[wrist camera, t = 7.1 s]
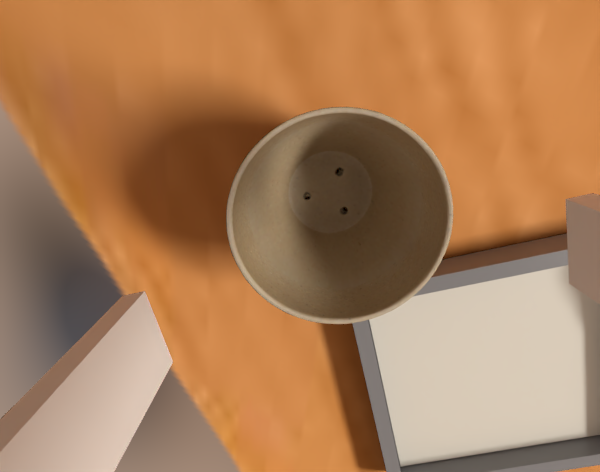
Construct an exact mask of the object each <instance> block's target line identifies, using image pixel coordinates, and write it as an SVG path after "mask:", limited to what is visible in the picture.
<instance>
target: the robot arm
mask: <svg viewBox="0 0 600 472" xmlns="http://www.w3.org/2000/svg"><path fill="white" fill-rule="evenodd" d="M566 220H567V245H568V269H569V284H571V285H572V286H573V287H575V288H576V289H578V290H579V291H581V292H582V293H584V294H585V295H587V296H588V297H589V298H591V299H592V300H594V301H595V302H597V303H598V304H600V195H597V194H594V193H592V194H587V195H582V196H578V197H573V198H569V199H566ZM172 363H173V361H172V358H171V356H170V353H169V350H168V348H167V345H166V343H165V340H164V338H163V335H162V333H161V330H160V328H159V325H158V323H157V320H156V318H155V315H154V313H153V310H152V308H151V305H150V303H149V300H148V298H147V295H146V293H145V291H143V292H138V293H134V294H129V295H125V296H122V297H121V298H120V299H119V300H118V301H117V302H116V303H115V304H114V305H113V306H112V307H111V308H110V309H109V310H108V311H107V313H105V314H104V315H103V316H102V317H101V319H100V320H99V321H97V322H96V324H95V325H94V326H93V327H92V328H91V329H90V330H89V331H88V332H87V333H86V334H85V335H84V336H83V337H82V338H81V339H80V340H79V341H78V342H77V343H76V344H75V345H74V346H73V347H72V348H71V349H70V350H69V351H68V352H67V353H66V354H65V355H64V356H63V357H62V358H61V359H60V360H59V361H58V362H57V363H56V364H55V365H54V366H53V367H52V368H51V369H50V370H49V371H48V372H47V373H46V374H45V375H44V376H43V377H42V378H41V379H40V380H39V381H38V382H37V383H36V384H35V385H34V386H33V387H32V388H31V389H30V390H29V391H28V392H27V393H26V394H25V395H24V396H23V397H22V398H21V399H20V401H18V402H17V403H16V405H14V406H13V407H12V408H11V409H10V410H9V411H8V412H7V413H6V414H5V415H4V416H3V417H2V418H1V419H0V472H114V471H115V469H116V467H117V465H118V463H119V461H120V460H121V458H122V456H123V454H124V452H125V450H126V448H127V447H128V445H129V443H130V441H131V439H132V437H133V435H134V434H135V432H136V430H137V428H138V426H139V424H140V422H141V421H142V419H143V417H144V415H145V413H146V411H147V409H148V408H149V406H150V404H151V402H152V400H153V398H154V396H155V395H156V393H157V390H158V389H159V387H160V385H161V383H162V381H163V380H164V378H165V376H166V374H167V372H168V370H169V369H170V367H171V365H172Z"/></svg>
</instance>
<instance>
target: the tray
mask: <svg viewBox="0 0 600 472" xmlns="http://www.w3.org/2000/svg"><path fill="white" fill-rule="evenodd" d="M352 324H353V328H354V333H355V337H356V341H357V346H358V350H359V354H360V359H361V363H362V367H363V372H364V376H365V380H366V385H367V389H368V393H369V398H370V402H371V406H372V411H373V415H374V419H375V424H376V428H377V432H378V437H379V441H380V445H381V450H382V454H383V458H384V463H385V467H386V471H387V472H556V471H563V470H569V469H576V468H582V467H589V466H595V465H600V304H598V303H597V302H595V301H594V300H592V299H591V298H589V297H588V296H587V295H585V294H584V293H582V292H581V291H579V290H578V289H576V288H575V287H573V286H572V285H571V284H569V269H568V245H567V233H566V234H561V235H557V236H552V237H547V238H542V239H538V240H533V241H528V242H523V243H519V244H514V245H509V246H504V247H500V248H495V249H490V250H485V251H481V252H476V253H471V254H466V255H461V256H457V257H452V258H447V259H442V261H441V263H440V265H439V266H438V268H437V270H436V271H435V272H434V274H433V275H432V277H431V278H430V279H429V281H428V282H427V283H426V284H425V285H424V286H423V287H422V289H420V290H419V291H418V292H417V293H416V294H415V295H414V296H413V297H412V298H410V299H409V300H408V301H406V302H405V303H404V304H402V305H400V306H399V307H397V308H396V309H394V310H392V311H390V312H388V313H386V314H383V315H381V316H378V317H375V318H373V319H369V320H365V321H362V322H355V323H352Z"/></svg>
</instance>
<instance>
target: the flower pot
mask: <svg viewBox="0 0 600 472" xmlns="http://www.w3.org/2000/svg"><path fill="white" fill-rule="evenodd" d="M337 169H339V172H338V173H337V174H336V170H337ZM305 197H310V199H305ZM343 207H345V208H347V211H344V210H343ZM452 224H453V202H452V195H451V190H450V186H449V182H448V179H447V176H446V174H445V171H444V169H443V167H442V165H441V163H440V161H439V160H438V158H437V156H436V155H435V153H434V152H433V151H432V149H431V148H430V147H429V146H428V145H427V143H426V142H425V141H423V139H422V138H421V137H420V136H419V135H417V134H416V133H415V132H414V131H413V130H411V129H410V128H408V127H407V126H406V125H404V124H402V123H401V122H399V121H397V120H395V119H393V118H391V117H389V116H387V115H384V114H382V113H379V112H376V111H372V110H367V109H361V108H353V107H331V108H324V109H318V110H314V111H310V112H307V113H304V114H301V115H298V116H296V117H294V118H292V119H290V120H288V121H286V122H284V123H282V124H280V125H279V126H277V127H276V128H274V129H273V130H272V131H271V132H269V133H268V134H267V135H265V136H264V137H263V138H262V139H261V140H260V141H259V142H258V143H257V144H256V145H255V146H254V147H253V148H252V150H251V151H250V152H249V153H248V155H247V156H246V158H245V159H244V160H243V162H242V164H241V166H240V167H239V169H238V171H237V173H236V175H235V178H234V180H233V183H232V186H231V189H230V193H229V197H228V202H227V211H226V226H227V235H228V240H229V245H230V248H231V252H232V254H233V257H234V259H235V261H236V264H237V265H238V267H239V269H240V271H241V273H242V274H243V276H244V277H245V279H246V280H247V281H248V283H249V284H250V285H251V286H252V287H253V288H254V289H255V291H256V292H257V293H258V294H260V295H261V296H262V297H263V298H264V299H266V300H267V301H268V302H269V303H271V304H272V305H274V306H275V307H277V308H279V309H280V310H282V311H284V312H286V313H288V314H290V315H293V316H296V317H298V318H301V319H304V320H308V321H312V322H317V323H325V324H348V323H355V322H362V321H365V320H369V319H373V318H375V317H378V316H381V315H383V314H386V313H388V312H390V311H392V310H394V309H396V308H397V307H399V306H400V305H402V304H404V303H405V302H406V301H408V300H409V299H410V298H412V297H413V296H414V295H415V294H416V293H417V292H418V291H419V290H420V289H422V287H423V286H424V285H425V284H426V283H427V282H428V281H429V279H430V278H431V277H432V275H433V274H434V272H435V271H436V270H437V268H438V266H439V265H440V263H441V261H442V258H443V256H444V255H445V252H446V249H447V247H448V244H449V241H450V237H451V231H452Z"/></svg>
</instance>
